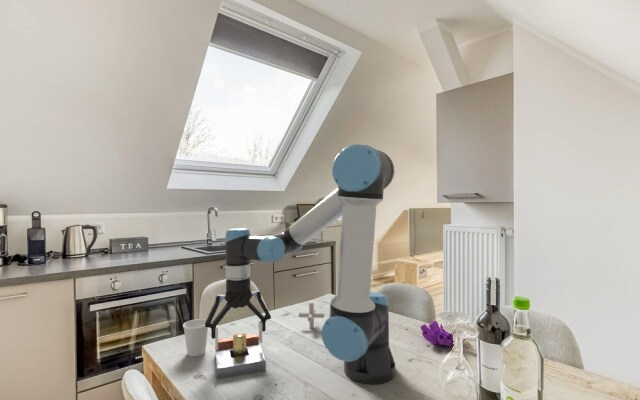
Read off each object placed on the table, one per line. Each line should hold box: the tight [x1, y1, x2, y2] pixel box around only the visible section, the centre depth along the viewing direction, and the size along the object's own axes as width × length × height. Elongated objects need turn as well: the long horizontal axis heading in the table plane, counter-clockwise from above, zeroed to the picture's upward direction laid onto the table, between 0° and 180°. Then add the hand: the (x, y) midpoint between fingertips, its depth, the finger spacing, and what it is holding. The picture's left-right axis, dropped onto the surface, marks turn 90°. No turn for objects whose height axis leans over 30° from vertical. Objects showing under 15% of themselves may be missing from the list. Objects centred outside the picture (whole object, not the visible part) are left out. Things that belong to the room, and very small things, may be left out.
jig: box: [214, 333, 267, 380], centre depth 105 cm, size 16×14×5 cm
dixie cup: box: [182, 318, 209, 357], centre depth 112 cm, size 8×8×10 cm
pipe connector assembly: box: [419, 320, 466, 346], centre depth 117 cm, size 11×15×10 cm
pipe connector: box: [298, 301, 325, 329], centre depth 133 cm, size 10×10×10 cm
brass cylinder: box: [232, 332, 247, 358], centre depth 105 cm, size 4×4×8 cm
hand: (239, 344), depth 105 cm, fingers open, 13 cm apart
